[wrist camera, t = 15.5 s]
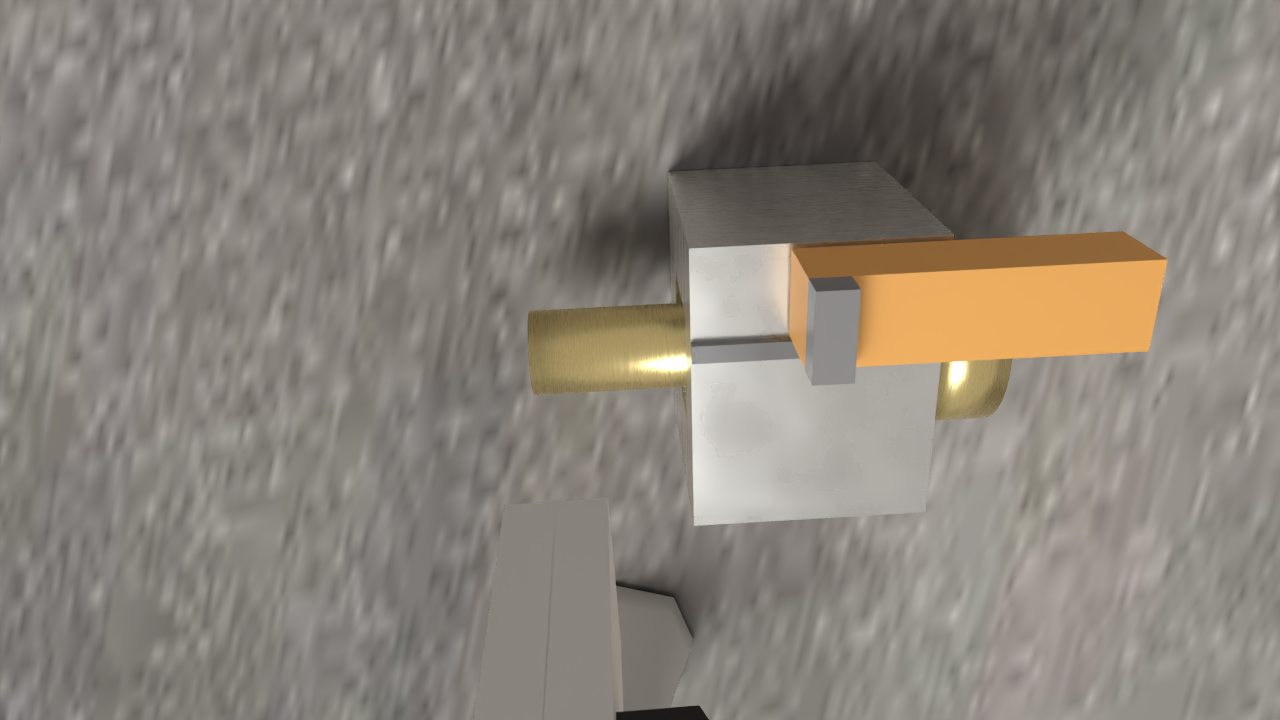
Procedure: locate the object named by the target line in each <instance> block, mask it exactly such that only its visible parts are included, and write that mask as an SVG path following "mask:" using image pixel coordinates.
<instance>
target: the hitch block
mask: <svg viewBox="0 0 1280 720" xmlns="http://www.w3.org/2000/svg"><path fill="white" fill-rule="evenodd" d="M668 201H669V238H670V274H671V303H682V304H683V308H684V313H685V338H686V386H687V387H674V406H675V412H676V418H677V424H678V430H679V436H680V443H681V449H682V455H683V461H684V467H685V473H686V480H687V486H688V492H689V498H690V504H691V511H692V517H693V523H694V526H697V525H714V524H731V523H748V522H765V521H782V520H799V519H816V518H833V517H850V516H867V515H884V514H901V513H918V512H925V508H926V499H927V489H928V480H929V470H930V461H931V452H932V442H933V433H934V423H935V414H936V405H937V395H938V386H939V376H940V367H941V362H940V363H922V364H904V365H886V366H868V367H856V376H855V383H854V384H836V385H818V386H812V385H811V382H810V380H809V378H808V376H807V373H806V371H805V369H804V367H803V365H802V362H801V360H800V358H799V356H798V353H797V351H796V349H795V347H794V345H793V342H792V340H791V338H790V336H789V316H790V283H791V249H795V248H814V247H834V246H853V245H872V244H891V243H910V242H929V241H949V240H954V234H953V233H952V232H951V231H950V230H949V229H948V228H947V227H946V226H945V225H943V224H942V223H941V222H940V221H939V220H938V219H937V218H936V217H935V216H934V215H933V214H932V213H930V212H929V211H928V210H927V209H926V208H925V207H924V206H923V205H922V204H921V203H920V202H919V201H918V200H916V199H915V198H914V197H913V196H912V195H911V194H910V193H909V192H908V191H907V190H906V189H905V188H904V187H902V186H901V185H900V184H899V183H898V182H897V181H896V180H895V179H894V178H893V177H892V176H891V175H889V174H888V173H887V172H886V171H885V170H884V169H883V168H882V167H881V166H880V165H879V164H878V163H877V162H875V161H873V162H853V163H833V164H813V165H793V166H773V167H753V168H733V169H713V170H693V171H674V172H668Z"/></svg>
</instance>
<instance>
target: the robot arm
mask: <svg viewBox="0 0 1280 720" xmlns="http://www.w3.org/2000/svg"><path fill="white" fill-rule="evenodd" d="M474 720H709V719H708V718H707V716H706V715H705V713H704V712H703V710H702V709H701V707H700V706H687V707H674V708H661V709H648V710H635V711H623V685H622V657H621V636H620V625H619V614H618V603H617V592H616V581H615V570H614V559H613V548H612V537H611V526H610V514H609V503H608V497H606V498H593V499H579V500H566V501H553V502H539V503H526V504H512V505H504V511H503V518H502V525H501V532H500V539H499V546H498V553H497V560H496V567H495V574H494V581H493V588H492V595H491V602H490V609H489V616H488V624H487V631H486V638H485V645H484V652H483V659H482V666H481V673H480V680H479V687H478V694H477V701H476V708H475V715H474Z"/></svg>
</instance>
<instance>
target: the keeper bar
mask: <svg viewBox="0 0 1280 720" xmlns="http://www.w3.org/2000/svg"><path fill="white" fill-rule="evenodd" d="M1167 261H1168V259H1166V258H1165V257H1163V256H1162V255H1160V254H1158V253H1157V252H1155V251H1154V250H1152V249H1150V248H1149V247H1147V246H1146V245H1144V244H1142V243H1141V242H1139V241H1138V240H1136V239H1134V238H1133V237H1131V236H1130V235H1128V234H1126V233H1125V232H1123V231H1121V232H1102V233H1083V234H1063V235H1044V236H1025V237H1006V238H987V239H968V240H949V241H929V242H910V243H891V244H872V245H853V246H834V247H814V248H795V249H791V283H790V316H789V336H790V338H791V340H792V342H793V345H794V347H795V349H796V351H797V353H798V356H799V358H800V360H801V362H802V365H803V367H804V369H805V371H806V373H807V376H808V378H809V380H810V382H811V385H812V386H818V385H836V384H854V383H855V376H856V367H868V366H886V365H904V364H922V363H940V362H958V361H977V360H995V359H1013V358H1031V357H1049V356H1067V355H1085V354H1104V353H1122V352H1140V351H1149V347H1150V342H1151V338H1152V333H1153V328H1154V323H1155V318H1156V314H1157V309H1158V304H1159V299H1160V294H1161V290H1162V285H1163V280H1164V275H1165V270H1166V266H1167Z"/></svg>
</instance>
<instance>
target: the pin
mask: <svg viewBox="0 0 1280 720" xmlns="http://www.w3.org/2000/svg"><path fill="white" fill-rule="evenodd" d="M528 354H529V368H530V378H531V385H532V390H533V394H534V395H542V394H560V393H578V392H596V391H615V390H633V389H651V388H669V387H687V386H686V338H685V313H684V308H683V304H682V303H670V304H651V305H632V306H613V307H595V308H576V309H557V310H538V311H529V315H528ZM1011 362H1012V359H995V360H977V361H958V362H941V367H940V376H939V386H938V395H937V405H936V414H935V420H949V419H967V418H984V417H988V416H990V415H991V414H993V413H994V412H995V411H996V410H997V408H998V407H999V405H1000V403H1001V401H1002V399H1003V397H1004V394H1005V391H1006V388H1007V385H1008V381H1009V376H1010V370H1011Z"/></svg>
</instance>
